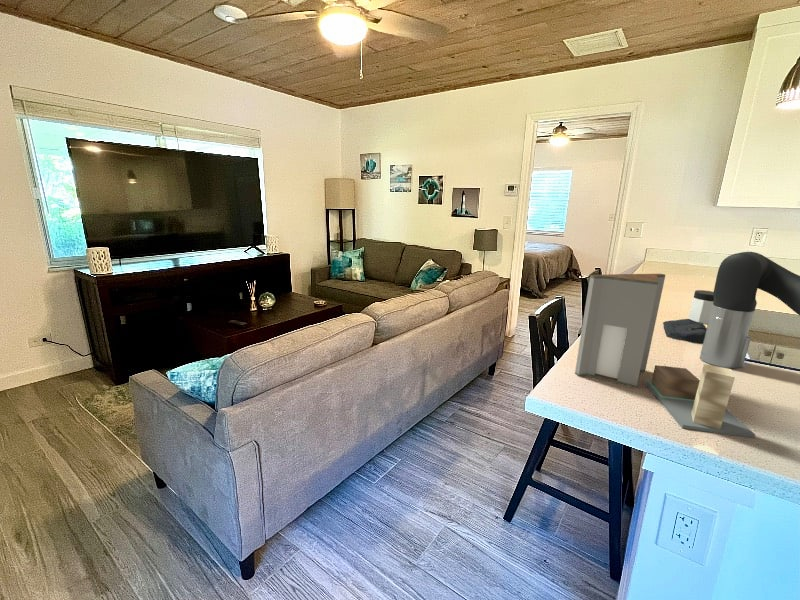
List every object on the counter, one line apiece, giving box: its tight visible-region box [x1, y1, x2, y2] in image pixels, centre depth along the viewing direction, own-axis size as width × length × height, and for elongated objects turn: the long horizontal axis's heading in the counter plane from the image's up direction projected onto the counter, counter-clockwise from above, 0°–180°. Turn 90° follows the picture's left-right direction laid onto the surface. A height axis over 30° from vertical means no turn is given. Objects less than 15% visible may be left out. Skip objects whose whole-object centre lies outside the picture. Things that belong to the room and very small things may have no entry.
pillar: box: [692, 363, 736, 429], centre depth 79 cm, size 4×4×12 cm
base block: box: [650, 364, 700, 400], centre depth 92 cm, size 7×7×5 cm
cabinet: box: [574, 273, 666, 389], centre depth 97 cm, size 21×10×28 cm, turn 100°
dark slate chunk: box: [662, 318, 707, 345], centre depth 137 cm, size 15×22×5 cm
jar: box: [687, 289, 714, 325], centre depth 150 cm, size 9×8×12 cm
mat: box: [645, 380, 756, 439], centre depth 87 cm, size 13×20×1 cm, turn 167°
